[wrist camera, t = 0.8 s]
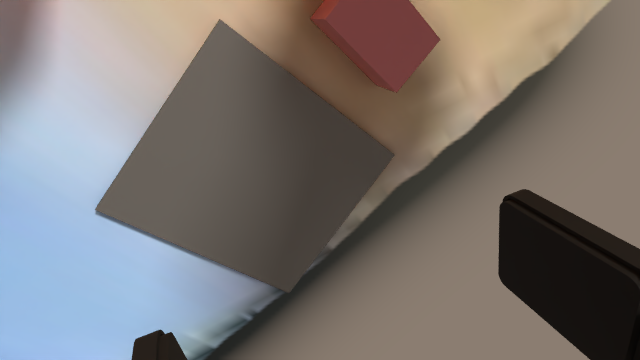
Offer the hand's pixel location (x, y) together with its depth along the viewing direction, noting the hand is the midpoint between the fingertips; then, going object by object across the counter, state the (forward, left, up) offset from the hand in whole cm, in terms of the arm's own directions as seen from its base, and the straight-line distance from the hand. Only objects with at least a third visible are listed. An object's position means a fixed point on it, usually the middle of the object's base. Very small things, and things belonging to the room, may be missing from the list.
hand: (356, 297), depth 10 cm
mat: (+4, +5, -25) cm, 26 cm away
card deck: (-12, +5, -25) cm, 28 cm away
